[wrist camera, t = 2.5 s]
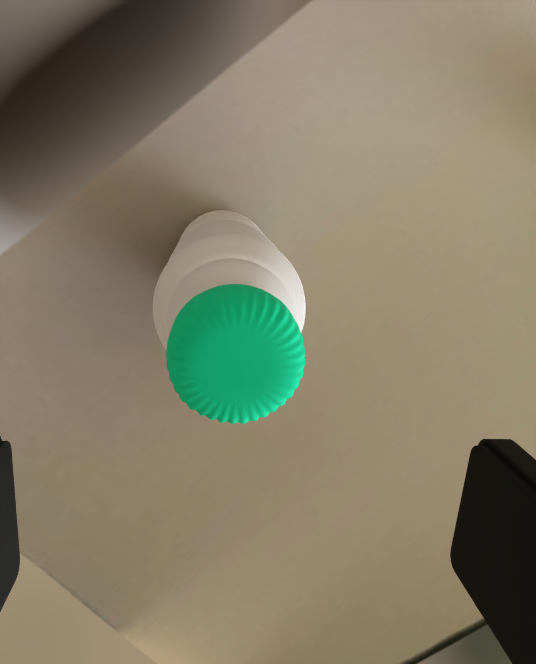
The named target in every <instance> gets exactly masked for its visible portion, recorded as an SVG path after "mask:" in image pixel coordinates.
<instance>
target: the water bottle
mask: <svg viewBox="0 0 536 664" xmlns="http://www.w3.org/2000/svg"><path fill="white" fill-rule="evenodd" d="M305 310H306V306H305V296H304V291H303V287H302V284H301V281H300V279H299V276H298V274H297V272H296V271H295V269H294V267H293V266H292V264H291V263H290V262H289V260H288V259H287V258H286V257H285V256H284V255H283V254H282V253H281V252H280V251H279V250H278V249H277V248H276V247H275V246H274V244H273V243H272V242H271V241H270V240H269V239H268V238H267V237H266V236H265V235H264V234H263V233H262V231H261V230H260V229H259V228H258V227H257V225H256V224H255V223H254V222H252V221H251V220H250V219H249V218H247V217H245V216H244V215H242V214H239V213H236V212H233V211H228V210H217V211H211V212H208V213H205V214H203V215H201V216H199V217H197V218H196V219H195V220H193V221H192V222H191V223H190V224H189V225H188V226H187V228H186V229H185V230H184V232H183V234H182V235H181V237H180V240H179V242H178V244H177V246H176V248H175V250H174V251H173V253H172V255H171V257H170V259H169V261H168V263H167V264H166V266H165V267H164V269H163V271H162V273H161V274H160V276H159V279H158V281H157V284H156V287H155V291H154V296H153V319H154V324H155V328H156V332H157V334H158V337H159V339H160V341H161V343H162V345H163V347H164V348H165V350H166V357H167V369H168V371H169V376H170V380H171V382H172V383H173V384H174V389H175V391H176V392H177V393H179V396H180V398H181V400H182V401H183V402H185V403H187V405H188V406H189V408H190V409H191V410H196V411H197V412H198V413H199V415H206V416H207V417H208V418H209V419H210V420H214V419H217V420H219V422H221V423H223V422H226V421H228V422H230V423H231V424H235V423H236V422H240V423H242V424H245V423H247V422H248V421H249V420H250V421H256V420H257V419H258V418H259V417H266V416H267V415H268V414H269V412H275V411H276V410H277V408H278V407H279V406H282V405H284V404H285V402H286V400H287V399H288V398H290V397H292V396H293V393H294V390H295V389H296V388H298V386H299V382H300V379H301V378H302V376H303V368H304V366H305V356H304V355H305V348H304V344H303V337H302V334H301V332H302V329H303V325H304V320H305Z"/></svg>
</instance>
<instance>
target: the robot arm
mask: <svg viewBox="0 0 536 664" xmlns="http://www.w3.org/2000/svg"><path fill="white" fill-rule="evenodd" d="M450 557H451V563H452V567H453V569H454V571H455V573H456V574H457V576H458V578H459V579H460V581H461V582H462V584H463V585H464V587H465V589H466V590H467V592H468V593H469V595H470V597H471V598H472V600H473V601H474V603H475V605H476V606H477V608H478V609H479V611H480V613H481V614H482V616H483V617H484V619H485V621H486V622H487V624H488V625H489V627H490V629H491V630H492V632H493V633H494V635H495V637H496V638H497V640H498V641H499V643H500V645H501V646H502V648H503V649H504V651H505V652H506V654H507V656H508V657H509V659H510V660H511V662H512V664H536V460H535V459H534V458H533V457H532V456H531V455H529V454H528V453H527V452H526V451H525V450H523V449H522V448H521V447H520V446H519V445H518V444H516V443H515V442H514V441H512V440H511V439H483V440H481V441H480V443H479V444H478V446H474V447H473V448H472V450H471V453H470V457H469V462H468V467H467V472H466V477H465V482H464V487H463V492H462V497H461V502H460V507H459V512H458V517H457V522H456V527H455V532H454V537H453V542H452V546H451V553H450ZM19 565H20V553H19V541H18V528H17V515H16V502H15V489H14V477H13V464H12V451H11V445H10V442H8V441H2V439H1V437H0V611H1V609H2V607H3V605H4V603H5V601H6V599H7V597H8V595H9V593H10V591H11V589H12V587H13V585H14V583H15V580H16V578H17V575H18V571H19Z"/></svg>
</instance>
